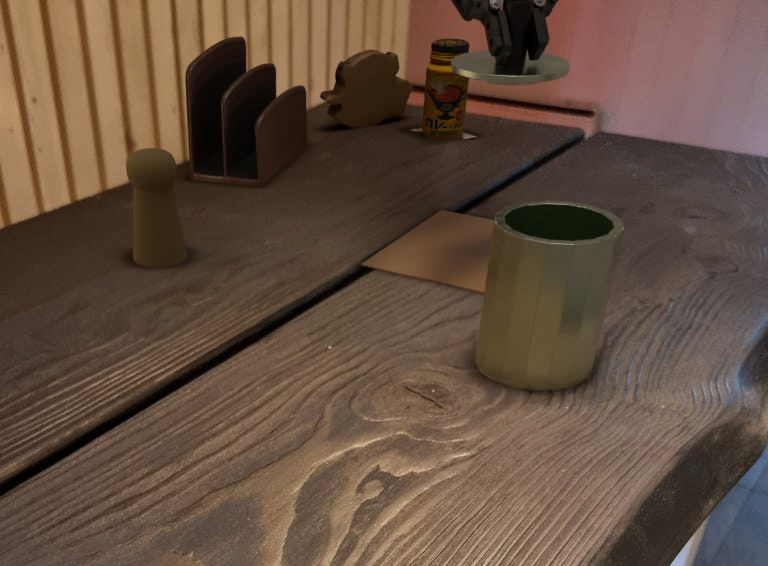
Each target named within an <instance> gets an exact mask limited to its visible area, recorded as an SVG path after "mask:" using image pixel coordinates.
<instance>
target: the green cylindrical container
mask: <svg viewBox="0 0 768 566" xmlns="http://www.w3.org/2000/svg"><path fill="white" fill-rule="evenodd" d="M493 220H494V224H493V232H492V239H491V246H490V253H489V261H488V268H487V275H486V283H485V290H484V293H483V297H482V304H481V305H482V306H481V313H480V320H479V326H478V327H479V328H478V332H477V334H478V335H477V342H476V349H475V361H474V363H475V365H476V367H477V369H478V370H479V371H480V372H481V373H482V375H484V376H485V377H487V378H489V379H490V380H491V381H494V382H496V383H498V384H502V385H504V386H507V387H511V388H515V389H519V390H528V391H538V392H539V391H540V392H544V391H545V392H546V391H547V392H548V391H558V390H559V391H560V390H565V389H569V388H572V387H574V386H577V385H579V384H581V383H583V382H584V381H586V380H587V379H588V378H589V376H590V374H591V373H592V371H593V367H594V362H595V359H596V354H597V349H598V345H599V341H600V337H601V332H602V329H603V323H604V320H605V316H606V310H607V306H608V303H609V297H610V293H611V289H612V284H613V281H614V277H615V272H616V268H617V263H618V259H619V256H620V250H621V246H622V242H623V237H624V232H625V227H624V223H623V220H622V218H619V217H618V216H617V215H615V214H614V213H612V212H611V211H608V210H605V209H603V208H600V207H597V206H594V205H590V204H585V203H580V202H575V201H567V200H566V201H565V200H534V201H523V202H517V203H514V204H510V205H507V206H504V207H503V208H501V209H500V210H499V211H497V212H496V213H495V214H494V218H493Z"/></svg>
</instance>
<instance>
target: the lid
mask: <svg viewBox="0 0 768 566" xmlns="http://www.w3.org/2000/svg"><path fill="white" fill-rule="evenodd" d="M533 6H534V0H502V7H501V10H505V12H506V17H507V22H508V27H509V32H510V38H511V43H512V50H511V53H510V54H509V56H508V58H507V59H506V61H505V62H502V63H496V61H495V56H493V57H492V56H491V54H490V52H489V49H485V50H477V51H469V53H465V54H461V55H458V56H456V57H454V58H453V59H452V61H451V69H452V71H453V72H455V73H456V74H458V75H461V76H464V77H467V78H469V79H471V80H475V81H477V82H481V83H485V84H491V85H497V86H530V85H535V84H540V83H544V82H546V83H547V82H551V81H555V80H559V79H562V78H564V77H566V76H568V74H569V73H570V68H571V64H570V62H569V61H568V60H566V59H565V58H562V57H560V56H557V55H554V54H549V53H544V52H543V53H542V55H541V56H540V58H539V59H538V60H533V61H530V60H529V56H528V51H527V47H528V40H529V33H530V26H531V20H532V13H533Z"/></svg>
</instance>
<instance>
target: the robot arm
mask: <svg viewBox="0 0 768 566" xmlns="http://www.w3.org/2000/svg"><path fill="white" fill-rule="evenodd" d="M559 1H560V0H534V6H533V13H532V20H531V26H530V33H529V40H528V47H527V51H528V56H529V60H530V61H533V60H538V59H539V58H540V56H541V55H542V53H544V52H545V50H546V48H547V46H548V45H549V43H550V33H549V28H548V23H547V19H546V18H547V17H549V16H550V15H551V13H552V12H553V9H555V7H556V5H557V3H558V2H559ZM450 2H451V3H452V4H453V6H454V8H455V9H456V10H457V12H458V14H459V15H460V17H461V18H462V20H464V21H465V22H472V21H473V20H476V21H479V22H480V25H482V26H483V28H484V33H485V39H486V43H487V50H489V52H490V54H491V56H492V57H493V56H495V61H496V63H502V62H505V61H506V59H507V58H508V56H509V54H510V53H511V50H512V43H511V38H510V32H509V27H508V22H507V17H506V12H505V10H502V7H503V0H450Z"/></svg>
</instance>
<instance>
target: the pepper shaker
mask: <svg viewBox="0 0 768 566" xmlns="http://www.w3.org/2000/svg"><path fill="white" fill-rule="evenodd" d="M125 170H126V171H125V172H126V176H127V180H128V182H129V183H130V185H131V186H132V187H133V203H132V204H133V205H132V206H133V207H132V208H133V209H132V210H133V213H132V214H133V215H132V216H133V218H132V220H133V221H132V223H133V224H132V228H133V229H132V232H133V233H132V258H133V262H135V263H136V264H137V265H140V266H143V267H149V268H164V267H171V266H175V265H178V264H182V263H183V262H184V261H186V260H187V258H188V252H187V247H186V241H185V237H184V233H183V227H182V223H181V218H180V214H179V207H178V204H177V198H176V194H175V190H174V184H175V182H176V179H177V175H178V165H177V162H176V159H175V157H174V156H173V154H172V152H169V151H168V150H166V149H163V148H157V147H148V148H141V149H137V150H135V151H132V152H131V153H130V154H129V155H128V158H127V159H126V162H125Z"/></svg>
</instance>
